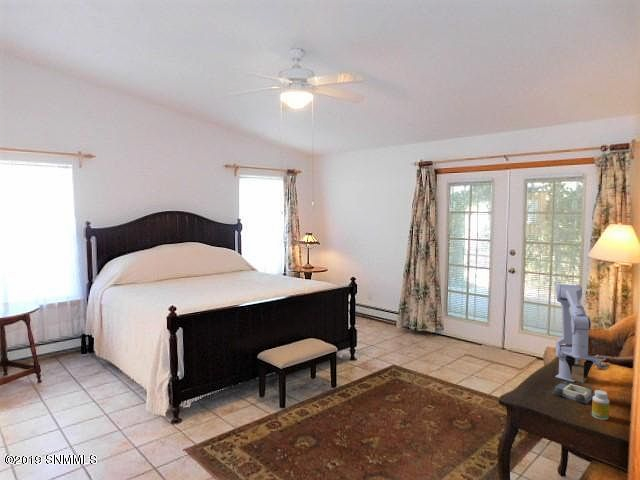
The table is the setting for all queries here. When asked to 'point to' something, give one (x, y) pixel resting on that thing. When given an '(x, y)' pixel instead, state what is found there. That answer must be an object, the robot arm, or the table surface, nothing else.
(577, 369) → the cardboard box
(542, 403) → the table surface
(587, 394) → the toy truck
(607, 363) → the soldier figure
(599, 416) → the supplement bottle
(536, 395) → the table surface
